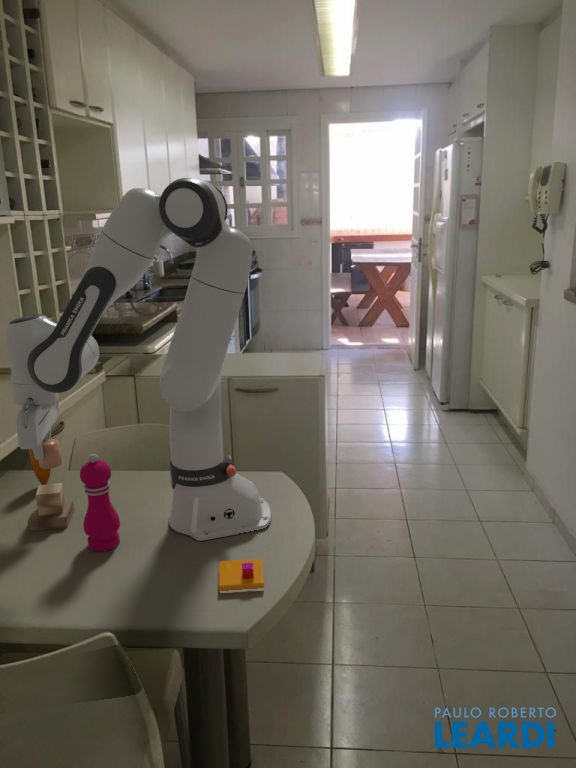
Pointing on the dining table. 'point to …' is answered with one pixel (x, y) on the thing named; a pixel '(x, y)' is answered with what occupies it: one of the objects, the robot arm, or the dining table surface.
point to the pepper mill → (99, 506)
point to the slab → (51, 518)
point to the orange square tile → (241, 575)
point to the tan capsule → (50, 454)
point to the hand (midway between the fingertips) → (43, 452)
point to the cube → (50, 499)
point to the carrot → (39, 469)
